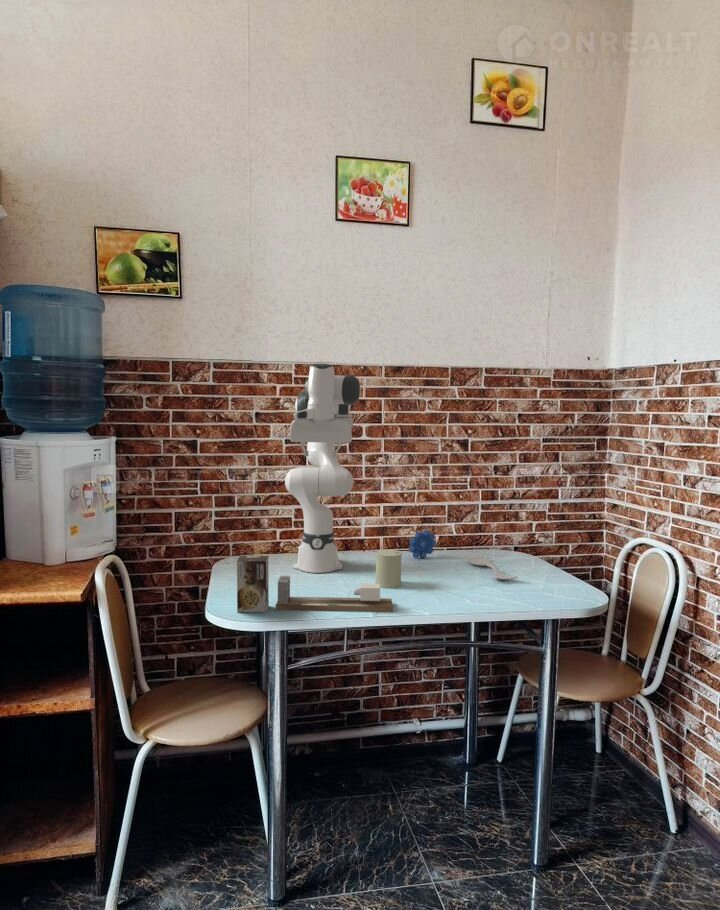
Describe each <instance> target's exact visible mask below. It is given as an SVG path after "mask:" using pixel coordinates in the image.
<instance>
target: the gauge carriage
mask: <svg viewBox="0 0 720 910" xmlns="http://www.w3.org/2000/svg"><path fill="white" fill-rule="evenodd" d="M353 595H354V596H360V597H359V598H360V601H369V604H371V601H380V598H381V587H380V584H376V583H375V582H374V583H372V582H371V583H368V582H367V583H363V582H361V583H360V588H357V587H356V588H354V589H353Z"/></svg>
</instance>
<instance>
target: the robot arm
mask: <svg viewBox="0 0 720 910" xmlns="http://www.w3.org/2000/svg"><path fill="white" fill-rule="evenodd" d="M361 388H362V386H361V384H360V380H359V379H358V378H357V376H355V375H354V374H348V375H347V374H346V375H340V374H339V375H335V367H334V366H333V365H332V364H329V363H328V364H327V363H314V364H311V365H310V367H309V372H308V378H307V379H306V380H304V390H303V391H301V392H299V394H298V395H297V398H296V399H295V403H294V408H295V411H296V412H293V413H294V414H293V418H294V420H293V421H292V422H291V424H290V429H289V440H290V441H291V443H300V447H301V449H302V451H303V457H306V459H307V461H308V462H309V464H311V465H312V466H310V467H309V466H301V467H293V468H291V469H290V470H288V472H287V473H286V475H285V478H284V485H285V489H286V490H287V492H288V493H289V494H291V495H292V496H293V497H294V498H295V499H296V500H297V502H298V503H299V505H300V507H301V510H302V514H303V531H302V535H301V536H302V537H301V538H302V542H301V544H300V545H299V546H298V553H297V555H298V557H297V562H295V563H294V564H293V565H292V567H293V569H297V570H300V571H303V572H306V573H314V574H315V573H316V574H319V573H321V574H324V573H330V572H335V571H337V570H338V571H339V570H342V569H343V565H342V563H341V561H339V556H338V547H337V545H336V544H335V542H334V541H335V533H334V526H333V525H334V513H333V511H332V509H331V508H329V507H328V506H327V505H324V504H322V503H320V502H319V501H318V497H340V496H345V495H346V496H347V495H348V494H350V492H351V490H352V489H353V488H354V478H353V475H352V473H351V472H350V471H349V470H348V469H347V468H345V467H344V466H343V465H342V464H340V463H339V461H338V460H337V458H338V452H339V451H340V448H341V446H342V444H350V443H351V442H352V439H353V437H352V436H353V435H352V434H353V433H352V428H353V426H354V418H353V417H352V416H351V415H349V414H350V412H351V406H353V405H355V404H356V403H357V402H359V400H360V397H361V392H362V389H361ZM306 443H307V445H306ZM305 446H306V448H305ZM336 447H337V448H336Z"/></svg>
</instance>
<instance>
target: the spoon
mask: <svg viewBox="0 0 720 910" xmlns="http://www.w3.org/2000/svg"><path fill="white" fill-rule="evenodd" d="M466 560H467V562H468V563H470V564H472V565H474V566H477V567H485V566H487V567H489V568H491V569H492V570H493V572H494V574H493V575H492V578H494V579H495V580H498V581H499V580H501V581H504V580H511V579H512V580H513V579H518V578H519V575H517V574H516V575H515V574H514V575H509V574H504V573H501V572H500V571H499V570H498V568H497V567H496V566H495V564H493V563H492V562H491V560H489V559H487V558H485V557H484V556H480V555H470V556H468V557H467V558H466Z"/></svg>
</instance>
